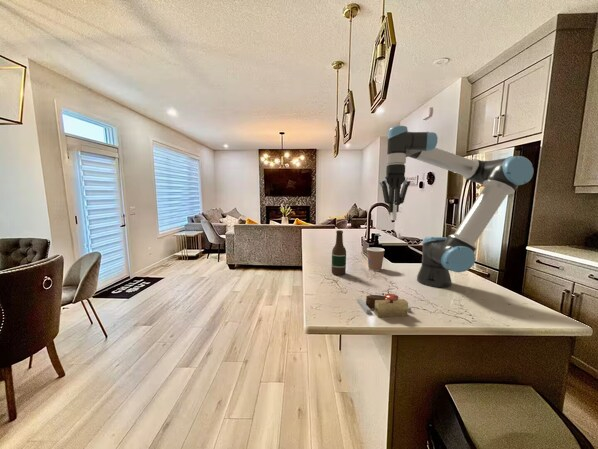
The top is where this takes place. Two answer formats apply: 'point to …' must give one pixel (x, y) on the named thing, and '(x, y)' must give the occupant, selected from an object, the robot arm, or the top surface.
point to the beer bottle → (339, 255)
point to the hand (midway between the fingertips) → (393, 219)
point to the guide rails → (369, 308)
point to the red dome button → (391, 306)
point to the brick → (373, 300)
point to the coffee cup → (375, 258)
